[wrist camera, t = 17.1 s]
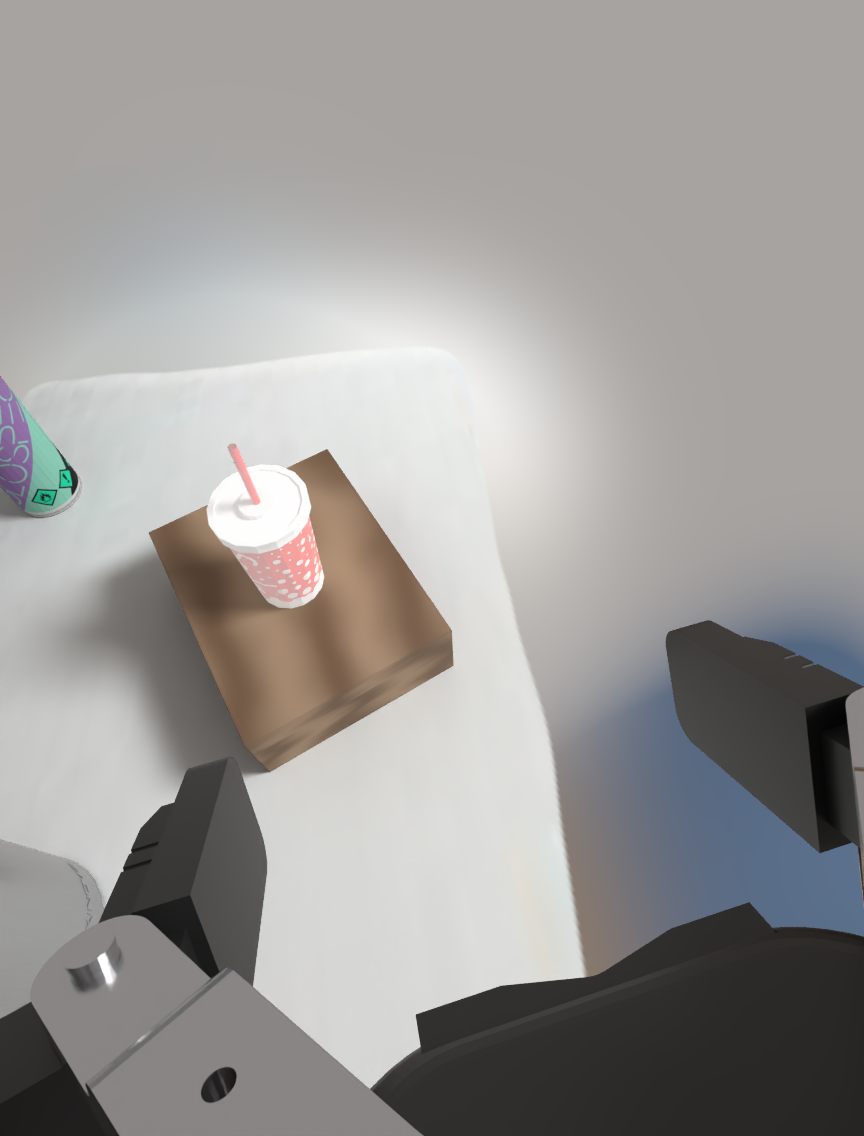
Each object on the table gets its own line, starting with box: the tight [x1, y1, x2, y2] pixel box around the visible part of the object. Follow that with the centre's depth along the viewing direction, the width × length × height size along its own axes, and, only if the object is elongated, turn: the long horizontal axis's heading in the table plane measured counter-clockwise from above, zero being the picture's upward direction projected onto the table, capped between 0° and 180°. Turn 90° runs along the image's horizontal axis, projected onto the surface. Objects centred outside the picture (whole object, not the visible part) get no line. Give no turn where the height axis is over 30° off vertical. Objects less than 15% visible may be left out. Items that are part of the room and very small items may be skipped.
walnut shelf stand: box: [149, 449, 453, 772], centre depth 50 cm, size 15×19×6 cm
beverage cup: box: [206, 444, 324, 608], centre depth 42 cm, size 6×6×14 cm
